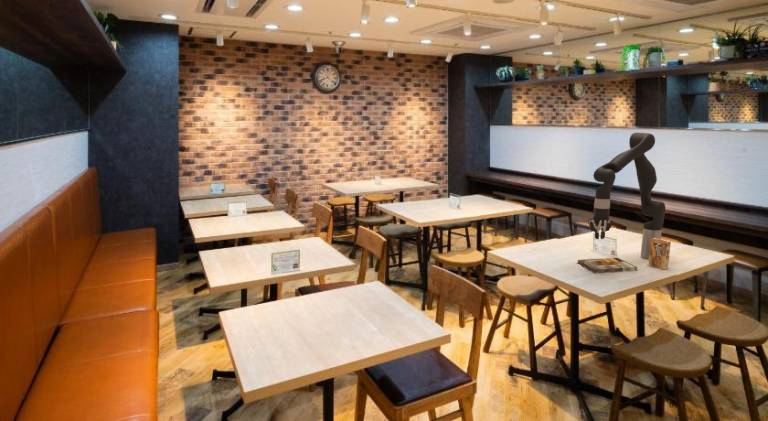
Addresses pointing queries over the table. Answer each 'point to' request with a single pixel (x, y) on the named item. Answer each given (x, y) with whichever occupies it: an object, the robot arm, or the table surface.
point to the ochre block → (609, 261)
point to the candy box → (659, 253)
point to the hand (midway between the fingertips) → (599, 238)
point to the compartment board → (606, 266)
